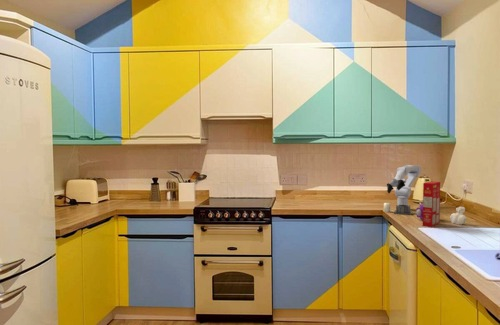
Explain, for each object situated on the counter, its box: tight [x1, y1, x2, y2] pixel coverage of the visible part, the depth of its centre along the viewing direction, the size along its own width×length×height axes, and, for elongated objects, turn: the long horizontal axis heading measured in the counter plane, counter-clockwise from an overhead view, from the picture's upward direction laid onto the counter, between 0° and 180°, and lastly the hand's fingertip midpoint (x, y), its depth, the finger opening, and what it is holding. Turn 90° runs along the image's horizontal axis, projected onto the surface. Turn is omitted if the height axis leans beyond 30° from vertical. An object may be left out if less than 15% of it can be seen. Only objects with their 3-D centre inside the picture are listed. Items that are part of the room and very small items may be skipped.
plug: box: [383, 202, 391, 213], centre depth 306 cm, size 4×4×6 cm
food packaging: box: [421, 181, 441, 228], centre depth 258 cm, size 15×5×25 cm, turn 141°
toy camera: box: [415, 203, 423, 220], centre depth 274 cm, size 11×14×10 cm
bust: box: [449, 206, 467, 225], centre depth 262 cm, size 12×8×11 cm
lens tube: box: [393, 204, 413, 216], centre depth 299 cm, size 11×11×5 cm
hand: (393, 190), depth 298 cm, fingers open, 7 cm apart
